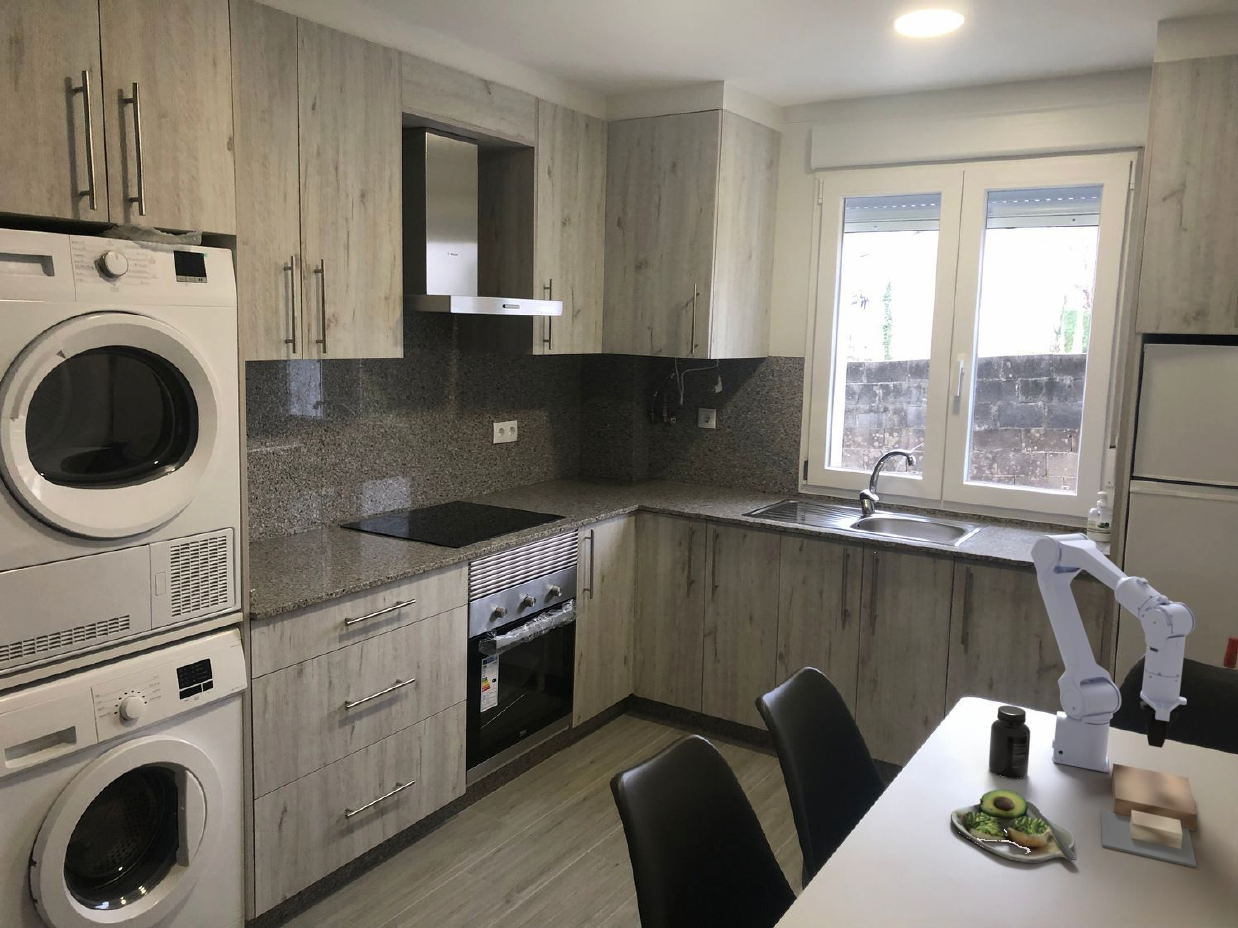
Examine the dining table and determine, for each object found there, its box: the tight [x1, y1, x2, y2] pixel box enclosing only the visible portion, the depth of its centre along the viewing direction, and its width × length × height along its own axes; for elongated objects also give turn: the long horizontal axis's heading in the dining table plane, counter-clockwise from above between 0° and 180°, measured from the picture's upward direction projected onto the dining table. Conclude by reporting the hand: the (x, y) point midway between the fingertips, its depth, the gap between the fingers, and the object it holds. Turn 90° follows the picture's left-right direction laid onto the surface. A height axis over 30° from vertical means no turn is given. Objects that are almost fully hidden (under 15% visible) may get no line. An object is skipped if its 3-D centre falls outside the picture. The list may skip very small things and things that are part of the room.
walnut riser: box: [1111, 763, 1198, 832], centre depth 167 cm, size 12×15×3 cm
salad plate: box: [950, 789, 1078, 864], centre depth 155 cm, size 19×18×5 cm
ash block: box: [1130, 810, 1182, 849], centre depth 155 cm, size 7×5×2 cm
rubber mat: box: [1100, 810, 1197, 868], centre depth 155 cm, size 13×12×1 cm
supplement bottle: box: [988, 705, 1031, 780], centre depth 178 cm, size 7×7×12 cm
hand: (1155, 745), depth 169 cm, fingers closed
